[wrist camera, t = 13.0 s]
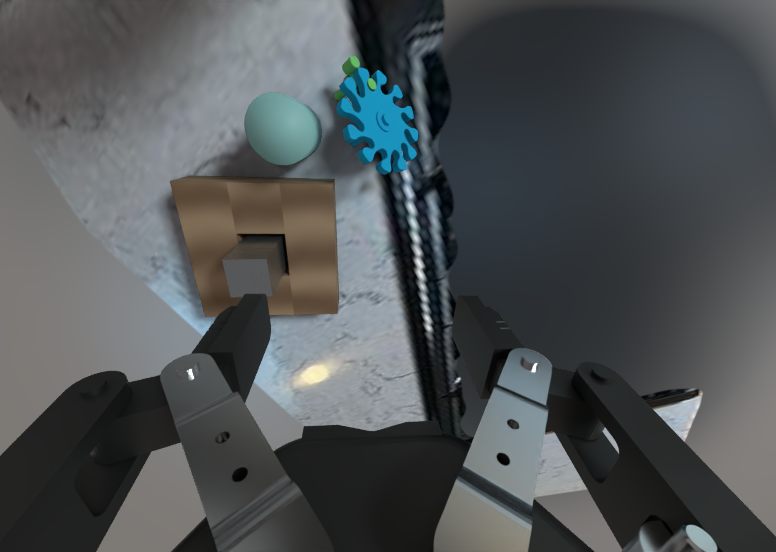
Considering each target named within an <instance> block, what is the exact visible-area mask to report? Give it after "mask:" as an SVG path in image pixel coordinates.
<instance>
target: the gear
mask: <svg viewBox="0 0 776 552" xmlns="http://www.w3.org/2000/svg"><path fill="white" fill-rule="evenodd" d="M359 65H360V64H359V60H358V59H357V58H356V57H355V56H353V55H352V56H351V57H350V58H349V59H348V60H347V61H346V62H345V63H344V64H343V66H342V68H343V71H344V73H345V74H347V76H346V77H345V78H344V80H343V83H342V84H341V85H340V86H339V87H340V90H339V91H338V92H337V93H336V94H335V95H334V96H335V99H336V100H337V101H339V102H338V104H337V107H336V112H337V114H338V115H339V116H341V117H346V118H348V119H350V120H351V121H353V122H354V123H355V124H356V125H357V127H358V128H359V130H358V129H357V128H356V127H355V126H354V125H351V124H350V125H348V126H346V127H345V128H344V129H343V135H344V138H345V141H346V142H348V143H350V145H351V146H352V147H355V146H357V145H358V144H360V143H361V142H363V141H365V142H367V143H368V145H369V148H367V147H366V148H363V149H362V150H360V151H359V152H358V153H357V155H358V157H359V159H360V160H361V162H362V163H363V164H364V165H365V164H367V163H369V162H371V161H372V160H373V157H374V154H375V152H376V151H378V152H380V153H381V155H382V161H380V162H378V163H377V164H376V170H377V171H378V172H380V173H381V174H384V175H385V174H387V173H389V172H390V171H391V163H390V158H391V154H393V156H394V162H393V165H392V168H393V171H394V172H401V171H403V170H406V169H407V165H406V162H407V161H409V160H411V159H413V158H414V157H415V156H416V151H415V150H414V148H412V147H411V146H410V144H412V143H414V142H415V141H417V139H418V131H417V130H416V129H414V128H410V127H409V126H408V125H407V124H406V123H405V122H408V121H410V120H411V119H413V111H412V108H411V107H410V106H407V107H406V108H399V107H397V106H396V105H395V104H394V103H393V102H396V101H398V100H399V99H400V98H402V96H403V95H402V92H401V90H400V89H399V87H398V85H395V86H393V87H392V88H391V89H390V90H389V91H388V95H384V94H383V93H382V92H381V89H380V87H381V86H382V85H384V84H385V83H386V77H385V75H384V74H383V73H381V72H380V71H379V70H377V71H376V72H375V73H374V74H373V75H372V76H371V78H369V73H368V71H367V70H366V69H364V68H358V67H359ZM357 68H358V69H357ZM356 69H357V70H356ZM345 95H346V96H347V97H348V98H349V99H350V101H351V102H352V105H353V107H354V109H355V111H356V112H355V111H354V109H353V107H352V105H351V103H350V101H349V100H348V99H347V98H343V97H344V96H345ZM402 119H403V120H402ZM404 121H405V122H404ZM408 142H409V143H410V144H409V143H408ZM401 148H402V151H403V156H402V152H401ZM403 158H404V159H403ZM404 160H405V161H406V162H405V161H404Z"/></svg>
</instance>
